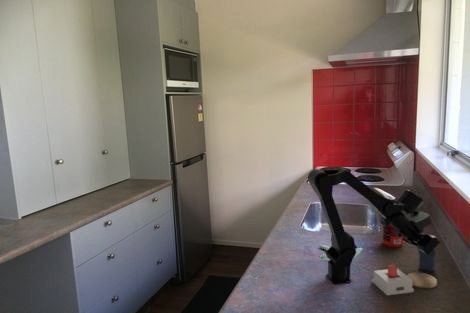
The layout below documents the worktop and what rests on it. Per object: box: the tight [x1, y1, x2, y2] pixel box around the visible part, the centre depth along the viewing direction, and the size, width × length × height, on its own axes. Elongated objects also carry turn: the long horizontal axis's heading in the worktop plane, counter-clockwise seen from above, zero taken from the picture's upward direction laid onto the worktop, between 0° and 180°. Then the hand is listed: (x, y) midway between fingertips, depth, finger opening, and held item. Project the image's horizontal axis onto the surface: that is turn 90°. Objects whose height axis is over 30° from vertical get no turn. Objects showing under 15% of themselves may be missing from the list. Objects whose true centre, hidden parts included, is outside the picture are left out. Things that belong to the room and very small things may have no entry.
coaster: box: [406, 271, 438, 289], centre depth 123 cm, size 9×9×1 cm
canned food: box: [382, 224, 404, 248], centre depth 154 cm, size 8×8×11 cm
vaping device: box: [418, 237, 436, 272], centre depth 131 cm, size 3×5×12 cm, turn 51°
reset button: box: [387, 264, 398, 278], centre depth 120 cm, size 3×3×4 cm
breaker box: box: [371, 267, 415, 296], centre depth 120 cm, size 9×9×4 cm
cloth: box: [319, 244, 363, 262], centre depth 150 cm, size 20×22×2 cm
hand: (429, 250), depth 131 cm, fingers closed on vaping device, 4 cm apart
